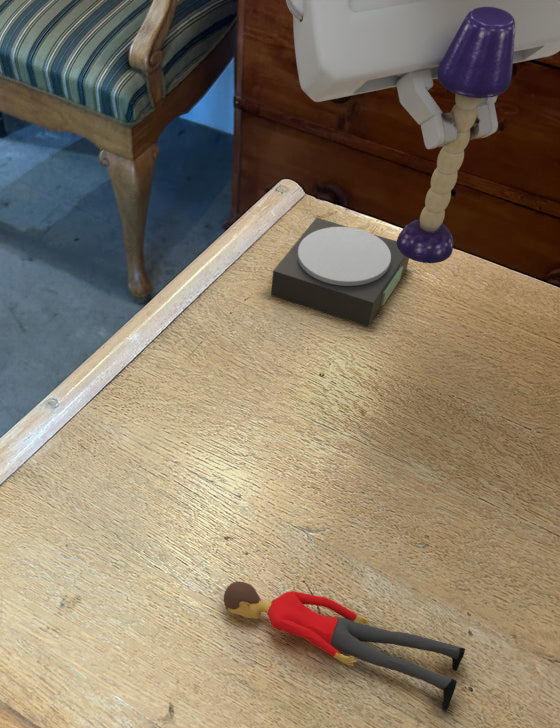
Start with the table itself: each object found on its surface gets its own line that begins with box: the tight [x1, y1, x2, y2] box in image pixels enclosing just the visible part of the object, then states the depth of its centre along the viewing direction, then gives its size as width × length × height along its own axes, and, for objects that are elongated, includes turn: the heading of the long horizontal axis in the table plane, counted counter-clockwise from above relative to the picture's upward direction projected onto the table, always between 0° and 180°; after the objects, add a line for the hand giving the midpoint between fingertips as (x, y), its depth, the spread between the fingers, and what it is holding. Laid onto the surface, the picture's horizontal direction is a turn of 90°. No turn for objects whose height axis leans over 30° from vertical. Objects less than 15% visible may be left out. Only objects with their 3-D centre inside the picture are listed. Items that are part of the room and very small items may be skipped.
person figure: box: [223, 581, 466, 711], centre depth 67 cm, size 5×4×18 cm
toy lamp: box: [396, 7, 515, 264], centre depth 61 cm, size 5×5×17 cm
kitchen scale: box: [270, 217, 410, 327], centre depth 94 cm, size 11×11×4 cm
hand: (462, 140), depth 61 cm, fingers closed on toy lamp
